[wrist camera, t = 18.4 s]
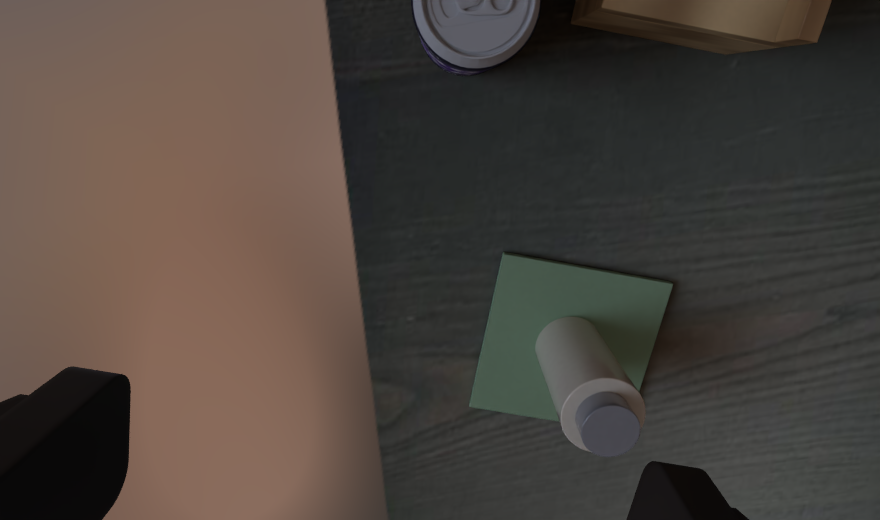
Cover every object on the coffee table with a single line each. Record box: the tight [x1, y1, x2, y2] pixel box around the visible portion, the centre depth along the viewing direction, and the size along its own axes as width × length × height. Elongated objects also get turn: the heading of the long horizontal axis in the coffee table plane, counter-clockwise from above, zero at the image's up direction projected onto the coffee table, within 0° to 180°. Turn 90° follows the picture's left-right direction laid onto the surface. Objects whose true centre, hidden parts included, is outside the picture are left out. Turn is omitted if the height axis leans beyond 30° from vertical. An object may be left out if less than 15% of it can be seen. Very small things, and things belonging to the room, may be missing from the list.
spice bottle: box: [535, 317, 646, 457], centre depth 35 cm, size 5×5×10 cm
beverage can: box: [411, 0, 541, 76], centre depth 29 cm, size 6×6×12 cm
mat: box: [469, 252, 673, 421], centre depth 41 cm, size 12×12×1 cm
